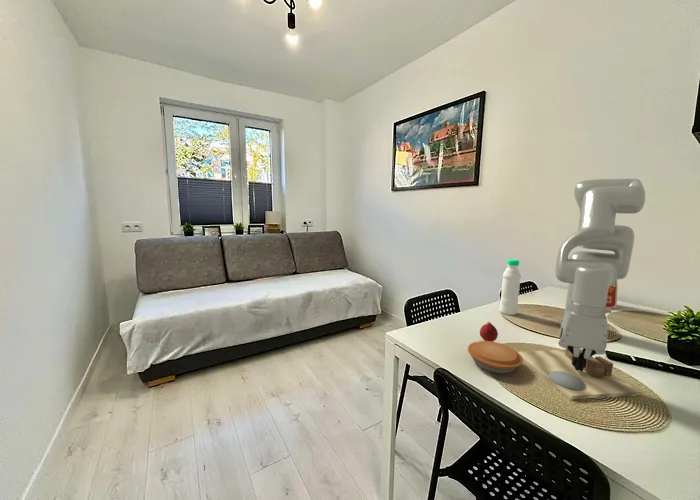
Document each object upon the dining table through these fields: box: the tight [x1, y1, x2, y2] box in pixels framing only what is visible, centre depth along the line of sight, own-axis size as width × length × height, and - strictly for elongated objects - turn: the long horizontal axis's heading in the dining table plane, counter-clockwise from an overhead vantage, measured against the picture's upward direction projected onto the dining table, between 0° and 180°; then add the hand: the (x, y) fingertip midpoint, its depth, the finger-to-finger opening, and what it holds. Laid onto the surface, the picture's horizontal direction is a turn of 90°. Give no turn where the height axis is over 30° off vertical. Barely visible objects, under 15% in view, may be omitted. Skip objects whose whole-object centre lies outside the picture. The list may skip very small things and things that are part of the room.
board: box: [517, 349, 642, 401], centre depth 85 cm, size 20×22×1 cm
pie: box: [467, 340, 524, 375], centre depth 90 cm, size 15×16×5 cm
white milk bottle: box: [499, 258, 522, 316], centre depth 131 cm, size 7×7×25 cm
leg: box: [565, 348, 605, 378], centre depth 87 cm, size 13×2×4 cm, turn 176°
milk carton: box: [606, 279, 619, 310], centre depth 142 cm, size 9×9×20 cm
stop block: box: [594, 356, 614, 376], centre depth 84 cm, size 2×4×4 cm, turn 5°
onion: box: [479, 321, 499, 342], centre depth 103 cm, size 6×6×8 cm
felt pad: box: [549, 371, 585, 390], centre depth 80 cm, size 8×8×1 cm
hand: (577, 368), depth 84 cm, fingers closed
